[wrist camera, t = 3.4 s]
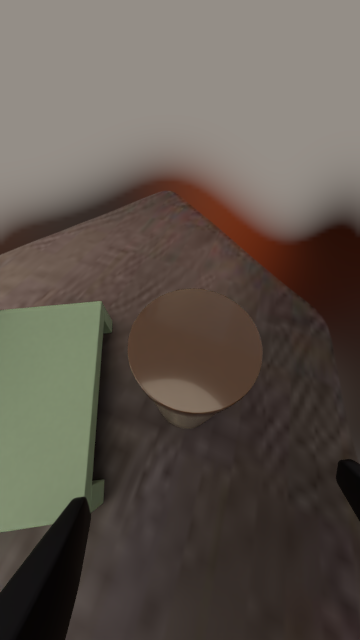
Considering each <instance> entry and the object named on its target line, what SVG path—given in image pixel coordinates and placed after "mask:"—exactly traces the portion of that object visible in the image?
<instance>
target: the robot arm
mask: <svg viewBox="0 0 360 640" xmlns="http://www.w3.org/2000/svg"><path fill="white" fill-rule="evenodd" d="M336 480H337V483H338V485H339V487H340V489H341V490H342V492H343V494H344V495H345V497H346V499H347V500H348V502H349V504H350V506H351V507H352V509H353V511H354V512H355V514H356V516H357V517H358V519H359V521H360V464H359V463H357V462H355V461H353V460H351V459H346V460H340V461H339V462H338V467H337V474H336ZM90 521H91V513H90V509H89V505H88V501H87V498H86V497H76V498H74V499H72V500H71V501H70V503H69V504H68V505H67V506H66V508H65V509H64V510H63V512H62V513H61V514H60V516H59V517H58V518H57V519H56V521H55V522H54V523H53V525H52V526H51V527H50V529H49V530H48V531H47V532H46V534H45V535H44V536H43V538H42V539H41V540H40V542H39V543H38V544H37V545H36V547H35V548H34V549H33V551H32V552H31V553H30V555H29V556H28V557H27V558H26V560H25V561H24V562H23V564H22V565H21V566H20V568H19V569H18V570H17V571H16V573H15V574H14V575H13V577H12V578H11V579H10V581H9V582H8V583H7V585H6V586H5V587H4V588H3V590H2V591H1V592H0V640H65V638H66V634H67V630H68V627H69V623H70V619H71V615H72V611H73V607H74V603H75V599H76V595H77V591H78V587H79V582H80V576H81V571H82V565H83V560H84V554H85V549H86V543H87V538H88V532H89V527H90Z"/></svg>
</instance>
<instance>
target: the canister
mask: <svg viewBox="0 0 360 640" xmlns="http://www.w3.org/2000/svg"><path fill="white" fill-rule="evenodd" d="M262 357H263V350H262V342H261V338H260V335H259V332H258V329H257V327H256V325H255V323H254V322H253V320H252V319H251V317H250V316H249V315H248V314H247V312H246V311H245V310H244V309H243V308H242V307H241V306H239V305H238V304H237V303H236V302H234V301H233V300H231V299H229V298H228V297H226V296H224V295H222V294H219V293H216V292H213V291H209V290H205V289H181V290H176V291H172V292H169V293H166V294H164V295H162V296H160V297H158V298H157V299H155V300H153V301H152V302H151V303H150V304H148V305H147V306H146V307H145V308H144V309H143V310H142V311H141V313H140V314H139V315H138V317H137V318H136V320H135V322H134V323H133V326H132V328H131V331H130V334H129V338H128V360H129V364H130V367H131V371H132V373H133V375H134V377H135V379H136V381H137V382H138V384H139V385H140V387H141V388H142V390H143V391H144V392H145V393H146V394H147V396H148V397H149V398H150V399H151V400H153V401H154V402H155V404H156V406H157V407H158V409H159V411H160V412H161V414H162V415H163V417H164V418H165V419H166V420H167V421H168V422H169V423H170V424H172V425H174V426H176V427H179V428H184V429H190V428H195V427H198V426H200V425H202V424H203V423H205V422H206V421H207V420H208V419H210V418H211V417H212V416H213V415H215V414H216V413H219V412H221V411H223V410H225V409H227V408H229V407H230V406H232V405H233V404H235V403H236V402H238V401H239V400H240V399H242V398H243V397H244V396H245V395H246V394H247V393H248V392H249V390H250V389H251V388H252V387H253V385H254V383H255V381H256V380H257V378H258V375H259V372H260V369H261V365H262Z"/></svg>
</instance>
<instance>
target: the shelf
mask: <svg viewBox="0 0 360 640" xmlns="http://www.w3.org/2000/svg"><path fill="white" fill-rule="evenodd" d="M104 333H112V320H111V318H110V316H109V314H108V312H107V311H106V309H105V307H104V305H103V303H102V301H97V302H86V303H75V304H64V305H53V306H42V307H31V308H20V309H8V310H0V532H6V531H12V530H19V529H25V528H32V527H39V526H45V525H52V524H53V523H54V522H55V521H56V519H57V518H58V517H59V516H60V514H61V513H62V512H63V510H64V509H65V508H66V506H67V505H68V504H69V503H70V501H71V500H72V499H74V498H76V497H86V498H87V501H88V505H89V509H90V513H91V512H93V511H94V510H95V509H96V508H98V507H99V506H100V505H101V504H103V497H104V479H102V480H95V481H92V476H93V462H94V449H95V435H96V422H97V408H98V395H99V382H100V368H101V355H102V341H103V334H104Z"/></svg>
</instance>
